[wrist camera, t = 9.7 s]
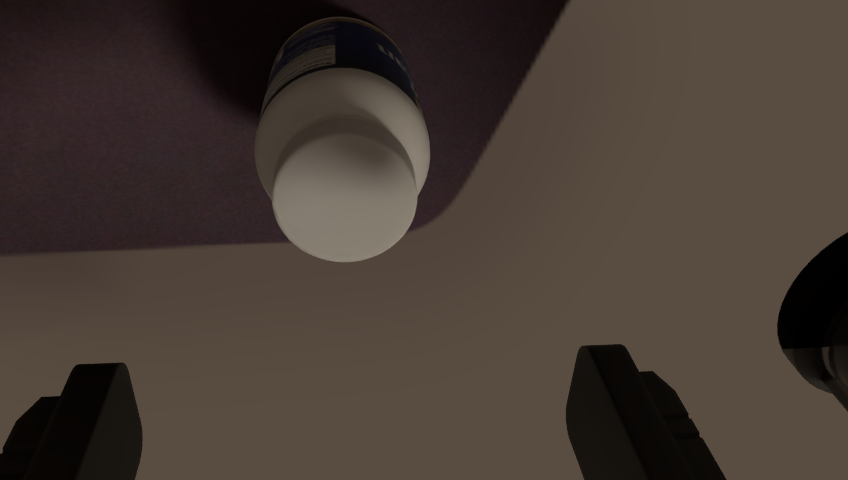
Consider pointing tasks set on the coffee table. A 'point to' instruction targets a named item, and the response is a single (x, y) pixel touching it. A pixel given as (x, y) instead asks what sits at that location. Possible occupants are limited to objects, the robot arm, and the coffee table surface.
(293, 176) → the pill bottle
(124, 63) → the coffee table surface
